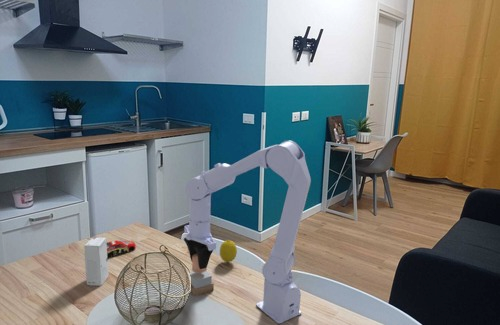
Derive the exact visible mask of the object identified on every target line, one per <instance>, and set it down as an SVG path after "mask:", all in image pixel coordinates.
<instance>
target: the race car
mask: <svg viewBox="0 0 500 325" xmlns="http://www.w3.org/2000/svg"><path fill="white" fill-rule="evenodd" d="M106 244H107V259H110V258H112V257H115V256H119V255H122V254H125V253H129V252H133V251H134V250H135V249H136V246H137V245H136V243H135V241H132V240H122V241H121V240H117V239H116V240H112V241H108V242H106Z"/></svg>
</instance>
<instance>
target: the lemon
mask: <svg viewBox="0 0 500 325" xmlns="http://www.w3.org/2000/svg"><path fill="white" fill-rule="evenodd" d="M237 252H238V251H237V245H236V243H235V242H234V241H232V240H230V239H227V240H224V241H223V242H222V243H221V244H220V248H219V256H220V258H221V260H222V261H224V262H226V263H228V264H229V263H231V262H232V261H234V260H235V259H236V257H237V254H238V253H237Z"/></svg>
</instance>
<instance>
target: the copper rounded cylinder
mask: <svg viewBox="0 0 500 325" xmlns="http://www.w3.org/2000/svg"><path fill="white" fill-rule="evenodd" d="M191 264H192V265H191V266H192V267H191V272H192V271H193V272H195V273H203V272H205V271H207V270H208V269H207V268H208V267H207V268H204V269H200V268H199V264H198V256H197V254H194V255H193V256H192V261H191Z"/></svg>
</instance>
